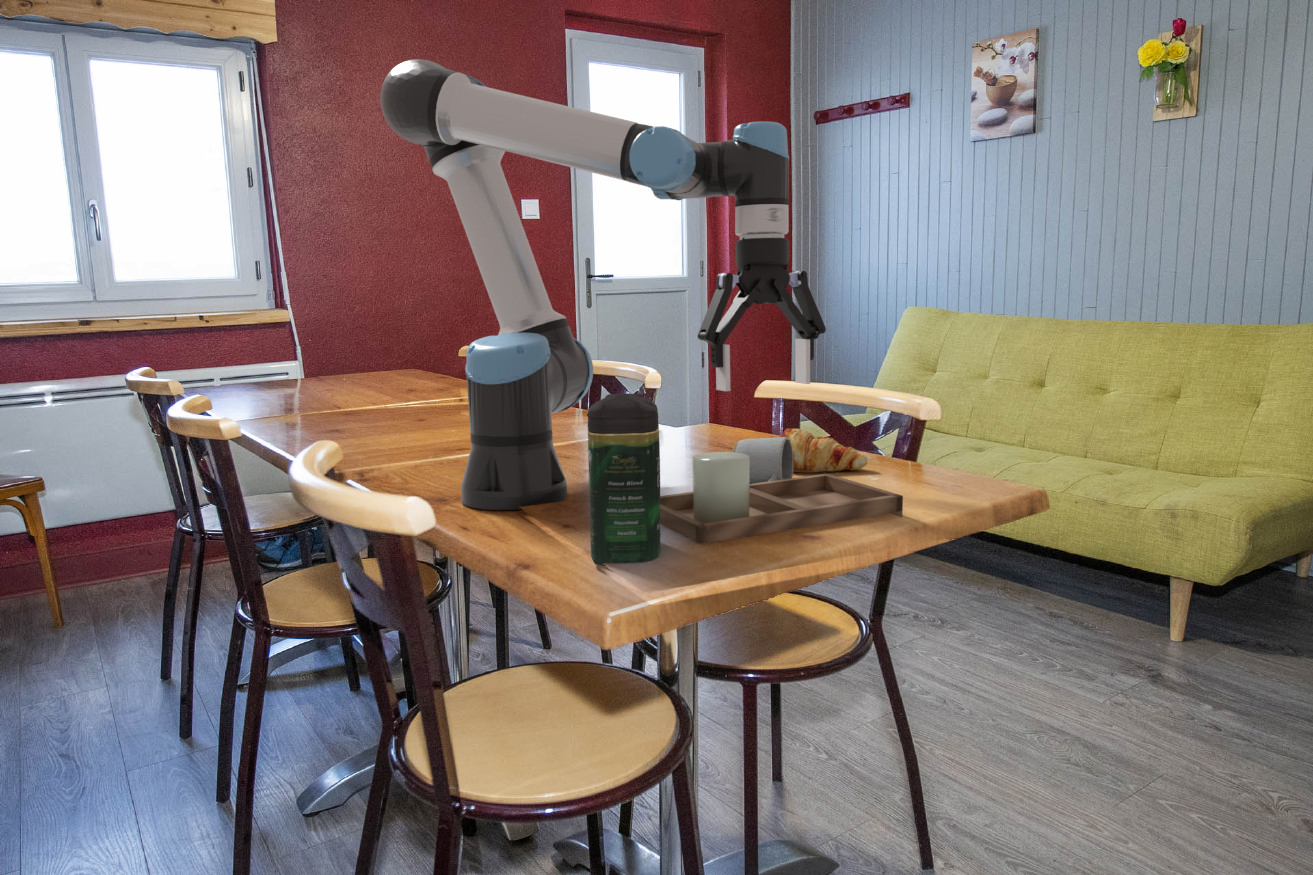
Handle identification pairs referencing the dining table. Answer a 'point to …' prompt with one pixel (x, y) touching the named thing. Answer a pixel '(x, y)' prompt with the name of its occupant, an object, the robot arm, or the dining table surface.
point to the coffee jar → (624, 479)
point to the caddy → (783, 508)
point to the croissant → (821, 453)
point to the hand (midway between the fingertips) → (763, 387)
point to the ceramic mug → (767, 458)
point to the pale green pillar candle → (721, 486)
